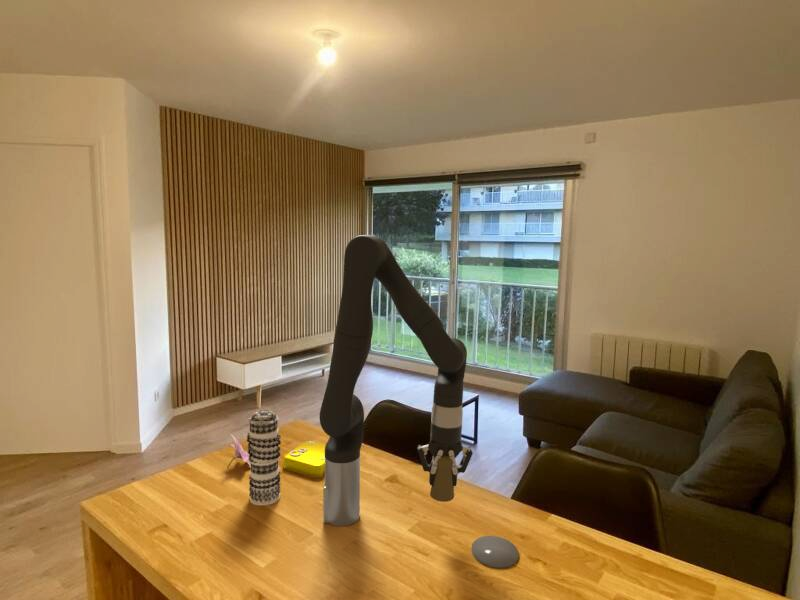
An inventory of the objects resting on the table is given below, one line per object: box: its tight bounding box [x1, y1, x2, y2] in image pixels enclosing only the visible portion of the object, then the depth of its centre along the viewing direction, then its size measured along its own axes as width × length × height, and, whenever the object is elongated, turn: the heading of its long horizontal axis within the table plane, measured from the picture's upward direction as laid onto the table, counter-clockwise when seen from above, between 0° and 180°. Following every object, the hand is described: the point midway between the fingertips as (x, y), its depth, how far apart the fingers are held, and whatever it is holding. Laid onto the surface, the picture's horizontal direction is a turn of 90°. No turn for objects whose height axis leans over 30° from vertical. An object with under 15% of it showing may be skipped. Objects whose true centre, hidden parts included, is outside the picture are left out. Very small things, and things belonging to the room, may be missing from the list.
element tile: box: [282, 439, 327, 479], centre depth 157 cm, size 15×15×5 cm
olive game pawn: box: [429, 456, 455, 503], centre depth 118 cm, size 6×6×11 cm
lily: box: [227, 433, 251, 469], centre depth 154 cm, size 12×12×10 cm
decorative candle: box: [246, 409, 282, 507], centre depth 134 cm, size 9×9×25 cm
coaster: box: [471, 535, 519, 569], centre depth 114 cm, size 11×11×1 cm
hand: (442, 486), depth 118 cm, fingers closed on olive game pawn, 4 cm apart
